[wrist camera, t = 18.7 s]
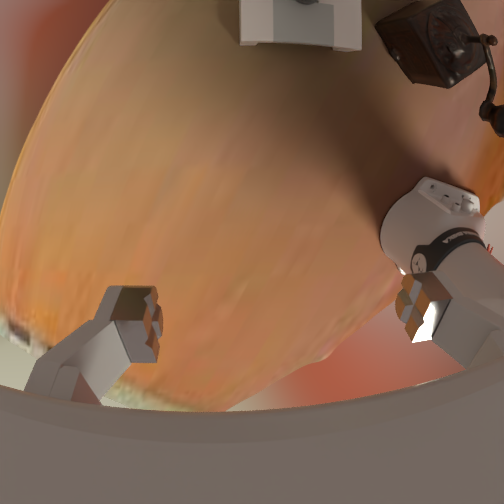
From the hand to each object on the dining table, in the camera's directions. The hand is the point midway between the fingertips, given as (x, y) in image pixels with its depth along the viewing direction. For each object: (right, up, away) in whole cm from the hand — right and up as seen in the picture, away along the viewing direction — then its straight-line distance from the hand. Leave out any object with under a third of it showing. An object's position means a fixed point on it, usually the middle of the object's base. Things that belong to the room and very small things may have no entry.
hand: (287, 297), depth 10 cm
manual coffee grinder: (+24, +30, +23) cm, 45 cm away
